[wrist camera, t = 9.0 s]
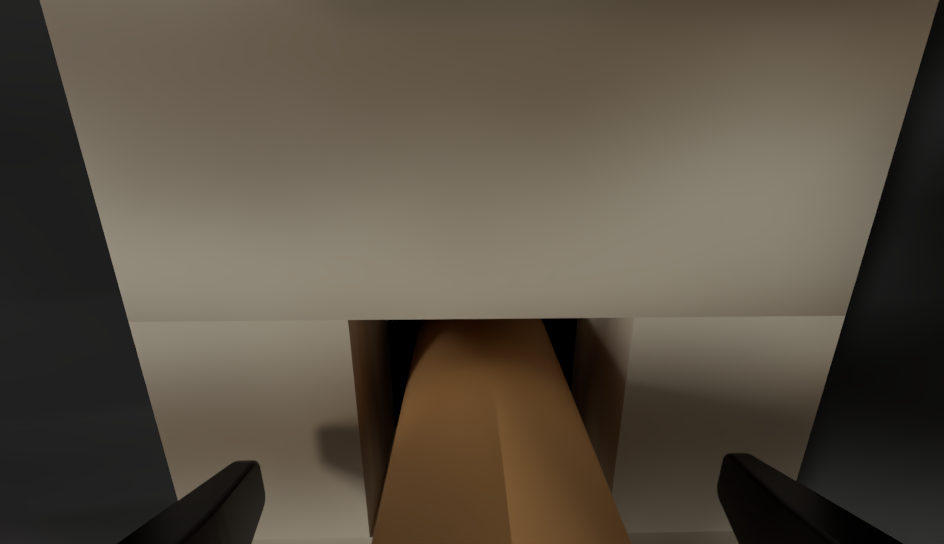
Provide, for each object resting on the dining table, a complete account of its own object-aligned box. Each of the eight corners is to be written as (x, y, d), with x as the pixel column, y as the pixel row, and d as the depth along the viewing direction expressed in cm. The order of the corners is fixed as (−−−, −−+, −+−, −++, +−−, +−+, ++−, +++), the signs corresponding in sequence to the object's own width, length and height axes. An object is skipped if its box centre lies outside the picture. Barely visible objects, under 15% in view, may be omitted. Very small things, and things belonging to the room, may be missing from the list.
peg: (544, 404, 14) (715, 997, 4) (418, 405, 14) (322, 1010, 4) (551, 286, 13) (810, 766, 3) (412, 287, 13) (259, 783, 3)
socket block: (677, 521, 16) (746, 648, 12) (281, 527, 15) (222, 660, 12) (808, -149, 10) (1036, -329, 6) (155, -156, 9) (-56, -346, 6)
